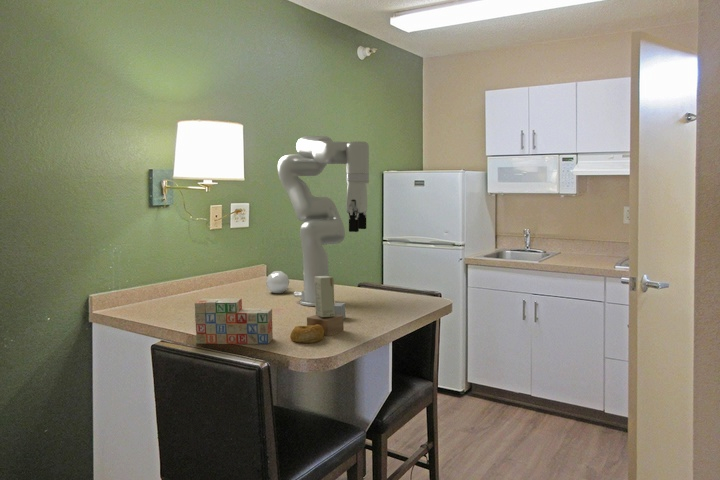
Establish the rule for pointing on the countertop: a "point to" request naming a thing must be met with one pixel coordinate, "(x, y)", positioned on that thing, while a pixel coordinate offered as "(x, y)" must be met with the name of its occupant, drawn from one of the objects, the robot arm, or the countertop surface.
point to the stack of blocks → (231, 322)
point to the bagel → (307, 333)
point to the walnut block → (327, 323)
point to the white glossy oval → (277, 282)
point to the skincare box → (324, 296)
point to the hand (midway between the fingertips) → (357, 230)
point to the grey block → (340, 309)
